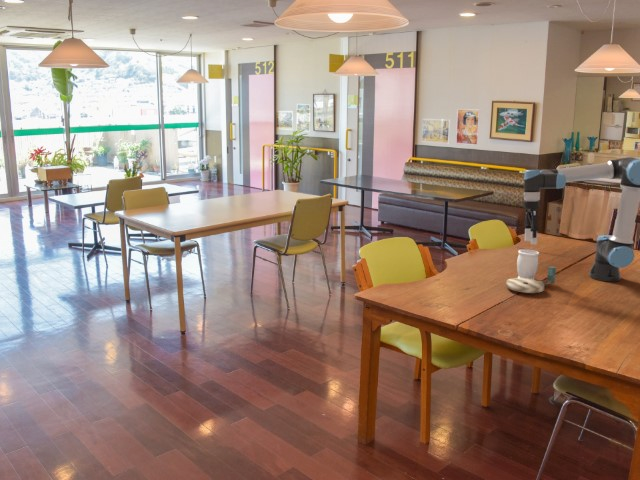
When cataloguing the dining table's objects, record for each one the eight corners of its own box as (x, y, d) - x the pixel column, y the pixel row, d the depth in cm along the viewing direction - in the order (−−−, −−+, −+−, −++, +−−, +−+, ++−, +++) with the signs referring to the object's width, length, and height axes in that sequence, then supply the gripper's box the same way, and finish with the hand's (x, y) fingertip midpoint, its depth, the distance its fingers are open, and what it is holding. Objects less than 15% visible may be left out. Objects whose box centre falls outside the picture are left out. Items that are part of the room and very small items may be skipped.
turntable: (524, 294, 289) (525, 277, 287) (498, 284, 305) (499, 267, 303) (566, 288, 300) (568, 271, 298) (539, 277, 316) (541, 262, 314)
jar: (537, 283, 313) (540, 254, 309) (516, 281, 315) (519, 253, 311) (534, 277, 323) (537, 249, 319) (514, 275, 325) (517, 248, 321)
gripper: (518, 199, 317) (517, 239, 320) (529, 202, 293) (528, 245, 295) (533, 199, 316) (532, 239, 319) (545, 201, 292) (544, 245, 294)
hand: (530, 242), depth 307 cm, fingers open, 13 cm apart
